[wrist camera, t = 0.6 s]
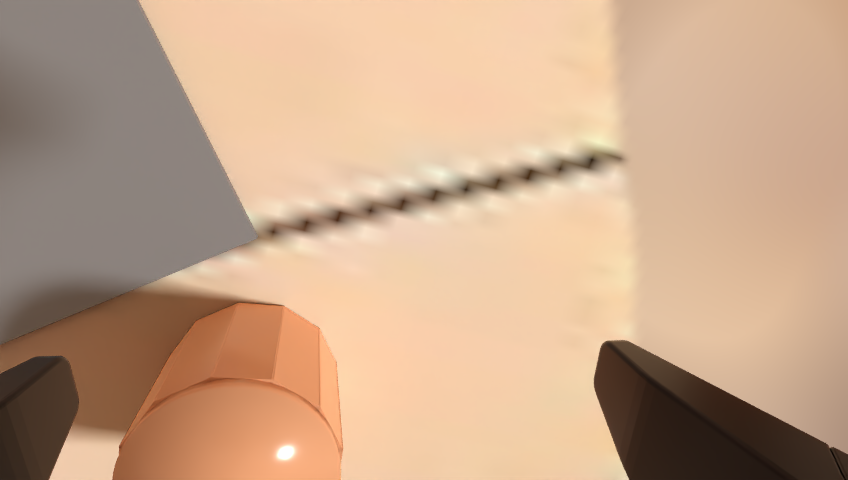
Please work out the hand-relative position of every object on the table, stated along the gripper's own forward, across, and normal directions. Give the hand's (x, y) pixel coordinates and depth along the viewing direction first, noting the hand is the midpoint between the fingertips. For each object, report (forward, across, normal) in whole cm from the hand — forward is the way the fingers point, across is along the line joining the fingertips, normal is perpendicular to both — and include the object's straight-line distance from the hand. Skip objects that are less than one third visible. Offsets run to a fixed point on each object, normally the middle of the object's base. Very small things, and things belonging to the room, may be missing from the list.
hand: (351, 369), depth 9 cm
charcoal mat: (+14, +13, 0) cm, 19 cm away
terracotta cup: (+13, +5, +10) cm, 17 cm away
